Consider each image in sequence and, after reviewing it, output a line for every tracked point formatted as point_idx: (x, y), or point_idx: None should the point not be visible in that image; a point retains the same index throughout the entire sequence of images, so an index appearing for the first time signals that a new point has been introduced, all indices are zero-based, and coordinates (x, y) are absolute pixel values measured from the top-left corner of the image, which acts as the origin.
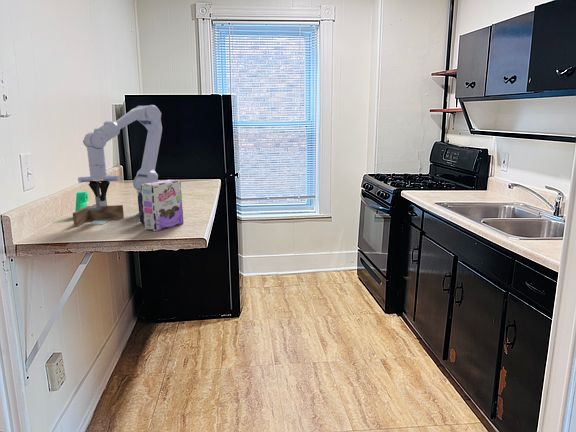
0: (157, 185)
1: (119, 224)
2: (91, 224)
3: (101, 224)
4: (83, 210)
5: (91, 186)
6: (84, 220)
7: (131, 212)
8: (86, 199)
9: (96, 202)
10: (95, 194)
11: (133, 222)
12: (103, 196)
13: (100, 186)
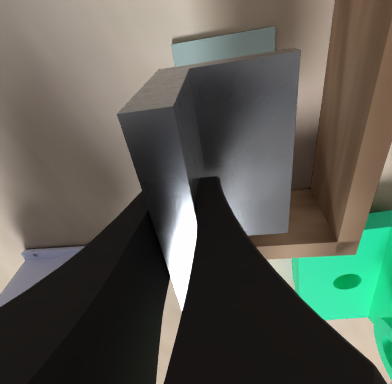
0: None
1: (58, 54)
2: (247, 34)
3: (176, 43)
4: (354, 149)
5: (287, 340)
6: (325, 117)
7: (174, 288)
8: (384, 335)
9: (173, 82)
10: (222, 218)
11: (15, 110)
12: (125, 209)
13: (46, 335)
